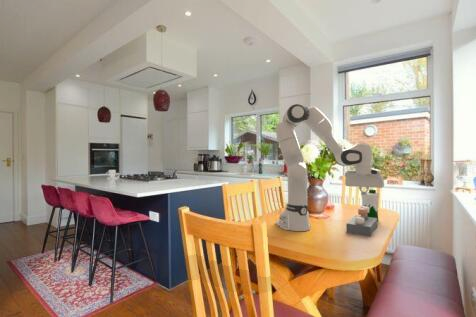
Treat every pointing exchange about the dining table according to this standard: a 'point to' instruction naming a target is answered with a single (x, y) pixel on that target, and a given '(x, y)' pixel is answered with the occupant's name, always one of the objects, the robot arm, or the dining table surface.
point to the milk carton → (371, 203)
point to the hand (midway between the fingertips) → (364, 194)
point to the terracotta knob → (362, 212)
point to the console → (362, 226)
